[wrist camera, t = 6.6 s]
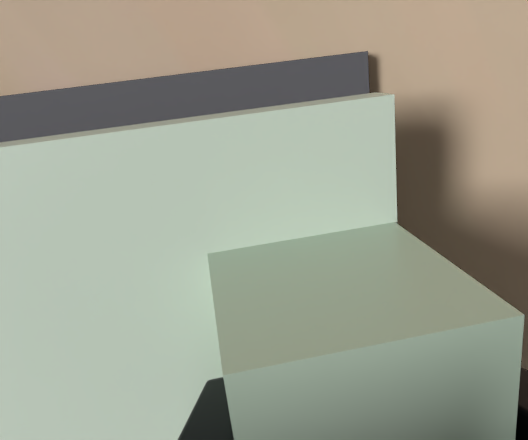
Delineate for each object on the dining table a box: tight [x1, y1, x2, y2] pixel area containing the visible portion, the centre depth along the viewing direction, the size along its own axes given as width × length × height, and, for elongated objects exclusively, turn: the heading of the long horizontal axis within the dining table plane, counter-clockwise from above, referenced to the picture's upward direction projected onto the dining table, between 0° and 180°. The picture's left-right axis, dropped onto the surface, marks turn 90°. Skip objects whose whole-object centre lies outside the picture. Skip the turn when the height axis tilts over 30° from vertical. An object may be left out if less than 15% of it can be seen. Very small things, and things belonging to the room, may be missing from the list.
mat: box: [0, 51, 369, 142], centre depth 11 cm, size 14×11×1 cm
